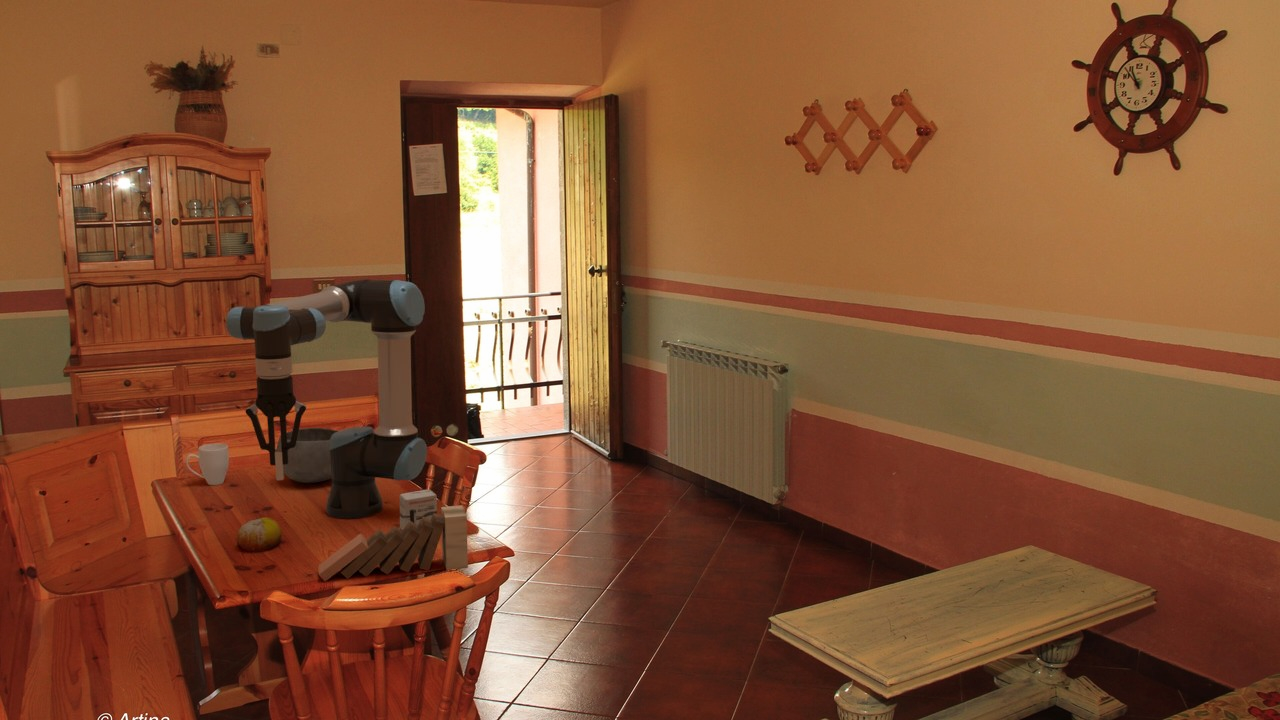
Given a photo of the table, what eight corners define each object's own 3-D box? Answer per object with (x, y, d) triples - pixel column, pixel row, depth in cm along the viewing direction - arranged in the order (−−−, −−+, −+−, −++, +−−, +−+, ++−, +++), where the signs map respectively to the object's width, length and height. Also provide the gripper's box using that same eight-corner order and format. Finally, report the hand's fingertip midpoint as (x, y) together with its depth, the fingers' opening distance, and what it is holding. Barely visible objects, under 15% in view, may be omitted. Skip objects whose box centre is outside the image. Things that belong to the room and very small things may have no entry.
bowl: (336, 491, 293) (334, 442, 290) (267, 490, 293) (264, 441, 290) (356, 471, 313) (354, 425, 311) (292, 470, 313) (289, 424, 311)
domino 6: (417, 559, 239) (433, 513, 238) (426, 561, 240) (441, 515, 239) (419, 568, 234) (436, 521, 233) (428, 570, 234) (444, 523, 234)
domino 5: (397, 559, 238) (422, 516, 238) (406, 563, 238) (430, 520, 239) (399, 568, 232) (425, 524, 232) (408, 572, 233) (433, 528, 233)
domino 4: (378, 560, 236) (410, 520, 237) (386, 565, 237) (417, 525, 238) (380, 569, 231) (412, 528, 231) (387, 574, 231) (419, 533, 232)
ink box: (406, 543, 251) (405, 499, 249) (399, 537, 256) (398, 493, 253) (438, 537, 256) (437, 493, 254) (431, 531, 260) (430, 488, 258)
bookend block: (442, 558, 242) (441, 507, 240) (463, 555, 244) (462, 505, 241) (446, 570, 235) (445, 517, 232) (467, 567, 236) (466, 515, 234)
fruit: (244, 535, 255) (252, 507, 254) (283, 547, 255) (291, 519, 254) (226, 550, 244) (234, 520, 243) (267, 562, 244) (275, 533, 243)
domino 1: (318, 565, 232) (360, 533, 234) (324, 571, 233) (366, 539, 235) (318, 574, 226) (362, 541, 228) (324, 581, 227) (368, 548, 229)
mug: (227, 477, 305) (224, 441, 303) (233, 484, 299) (230, 447, 297) (185, 483, 299) (182, 447, 297) (190, 490, 292) (187, 453, 290)
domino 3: (358, 561, 235) (394, 525, 236) (364, 567, 236) (401, 531, 237) (359, 571, 229) (396, 533, 231) (366, 576, 230) (403, 539, 231)
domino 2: (340, 563, 234) (379, 528, 235) (346, 569, 234) (385, 534, 236) (341, 572, 228) (380, 536, 229) (347, 579, 229) (387, 543, 230)
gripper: (241, 380, 213) (248, 485, 218) (305, 377, 217) (310, 480, 222) (243, 374, 220) (250, 476, 225) (305, 371, 224) (310, 471, 229)
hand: (280, 478), depth 223 cm, fingers closed
